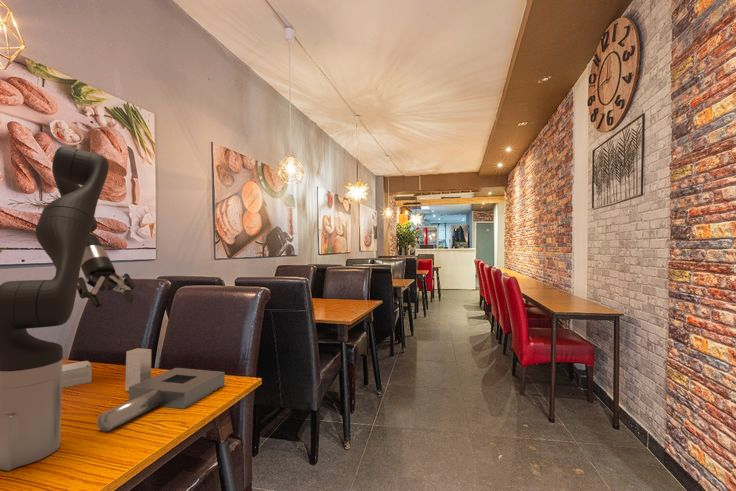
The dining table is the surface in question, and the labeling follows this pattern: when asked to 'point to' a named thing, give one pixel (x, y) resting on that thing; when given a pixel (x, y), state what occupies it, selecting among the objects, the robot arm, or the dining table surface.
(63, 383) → the small box
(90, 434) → the dining table surface
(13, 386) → the robot arm
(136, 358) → the upright grey pillar
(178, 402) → the grey handled frame
